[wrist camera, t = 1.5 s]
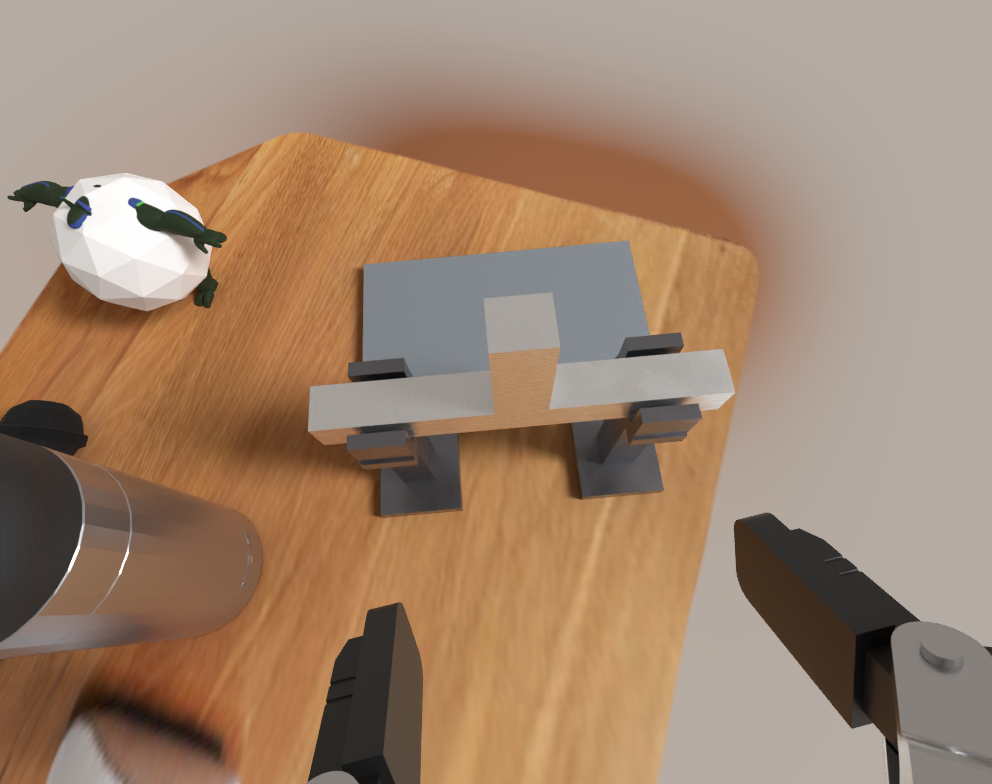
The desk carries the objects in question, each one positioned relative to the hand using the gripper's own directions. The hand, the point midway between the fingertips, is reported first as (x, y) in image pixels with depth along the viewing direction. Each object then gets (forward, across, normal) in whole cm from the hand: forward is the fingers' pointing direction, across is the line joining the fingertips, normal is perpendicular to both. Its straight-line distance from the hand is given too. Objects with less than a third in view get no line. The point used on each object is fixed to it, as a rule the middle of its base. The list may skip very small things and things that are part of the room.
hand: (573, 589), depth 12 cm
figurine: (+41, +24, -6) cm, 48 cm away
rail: (+17, -1, +2) cm, 18 cm away
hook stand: (+26, -1, +10) cm, 28 cm away
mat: (+35, -2, +1) cm, 35 cm away
